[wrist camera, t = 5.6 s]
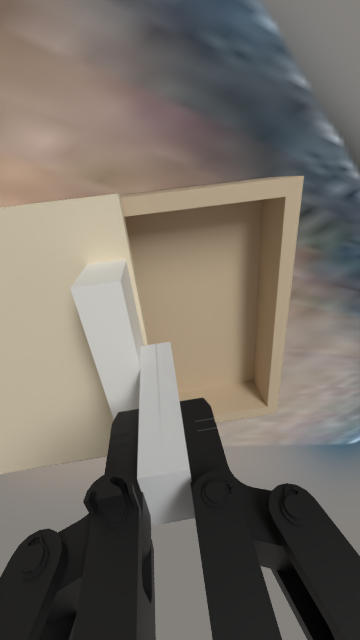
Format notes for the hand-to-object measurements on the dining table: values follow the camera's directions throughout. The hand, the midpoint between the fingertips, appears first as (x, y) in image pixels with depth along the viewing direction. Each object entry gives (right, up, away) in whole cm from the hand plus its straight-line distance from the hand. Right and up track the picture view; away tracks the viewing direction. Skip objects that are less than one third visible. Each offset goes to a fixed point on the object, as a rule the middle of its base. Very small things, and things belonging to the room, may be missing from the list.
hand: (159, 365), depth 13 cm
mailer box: (-1, +3, +5) cm, 6 cm away
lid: (-9, 0, +1) cm, 9 cm away
